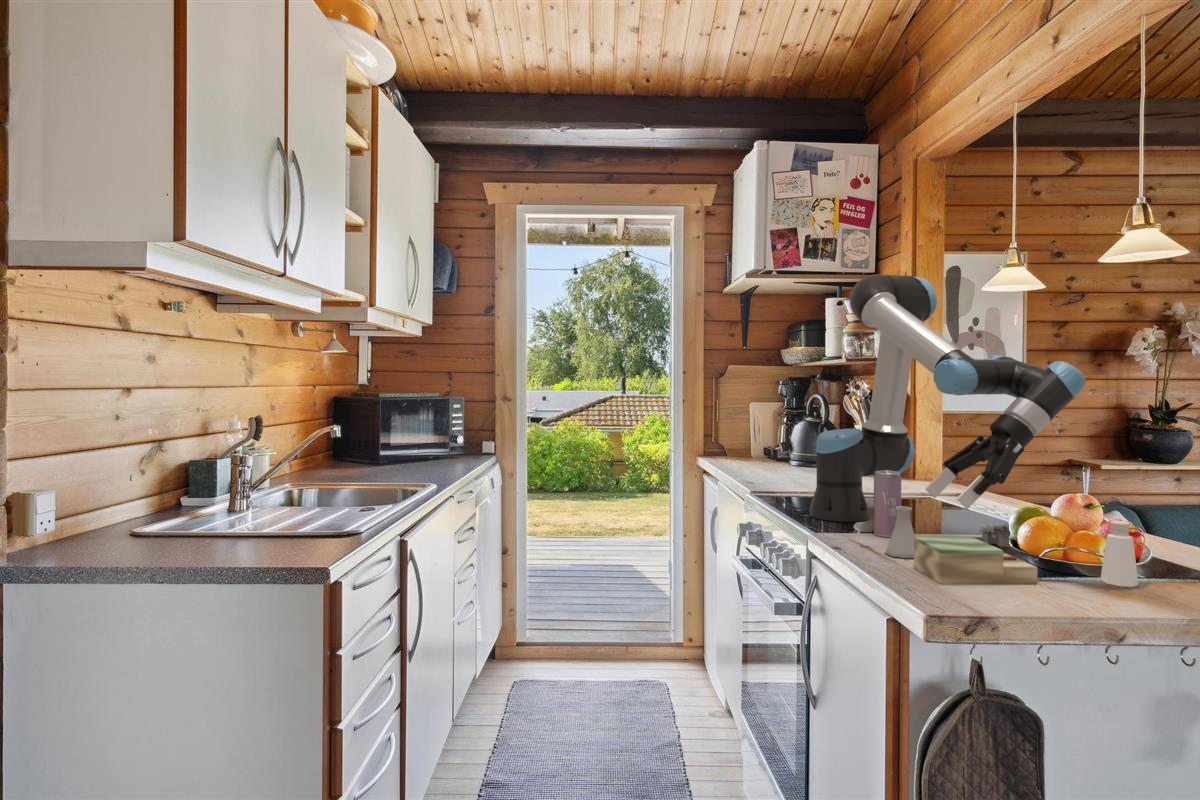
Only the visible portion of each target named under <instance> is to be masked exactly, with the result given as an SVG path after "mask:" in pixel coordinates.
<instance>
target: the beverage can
mask: <svg viewBox="0 0 1200 800" xmlns="http://www.w3.org/2000/svg"><path fill="white" fill-rule="evenodd" d="M901 474H902V473H900V472H897V471H875V475H874V476H873V533H874V534H875V536H877V537H880V538H887V539H889V538H890V539H891V536H892V533H893V531H894V528H895V524H896V519H897V510H896V509H895V508H896V507H897V506H902V475H901Z"/></svg>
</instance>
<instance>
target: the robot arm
mask: <svg viewBox="0 0 1200 800" xmlns="http://www.w3.org/2000/svg"><path fill="white" fill-rule="evenodd" d="M937 299H938V297H937V293H936V290H935V288H934V287H933V286H932V284H931V282H930V281H928V280H927V279H926V278H923V277H919V276H913V275H912V276H911V275H895V274H893V275H892V274H891V275H889V274H879V273H878V274H876V273H875V274H871V275H866V276H864V277H862V278H861V279H860V280H859V281H857V282H856V284H855V285H854V286H853V287H852V289H851V291H850V294H849V306H850V310H851V312H852V313H853V314H854V316H855V317H856V318H857V319H858V321H860V322H861V323H862V324H864V325H865V326H866V327H869V328H876V330H878V331H879V333H880V334H879V341H878V348H877V349H878V350H877V357H876V365H875V370H874V379H873V386H872V395H871V402H870V410H869V417H868V420H866V421H864V422H863V423H862V426H861V429H859V428H842V429H840V428H838V429H832V430H826V431H823V432H820V433H819V435H818V436H817V438H816V447H815V452H816V488H815V492H814V493H813V497H812V499H811V503H810V504H809V505H810V506H809V516H810V517H811V518H814V519H818V520H824V521H831V522H847V523H848V522H849V523H850V522H863V521H867V520H870V519H869V518H870V509H869V506H868V503H867V500H866V497H865V494H864V491H863V477H874V475H875V471H897V472H900V473H901V474H902V473H904V472H905V471H907V470H908V469H909V468H910V467H911V466H912V463H913V461H914V456H915V445H914V444H913V442H914V441H913V440H912V437H910V436H909V435H908V434H909V433H908V432H909V430H908V428H907V427H906V426H905V424H904V416H905V410H906V403H907V397H908V396H907V395H908V389H909V383H910V375H911V370H912V369H911V367H912V363H913V361H912V360H913V359H914V360H915V361H916V362H917V363H919V364H920V365H921V366H923V367H924V368H925V369H926V370H928V371H929V372H930V373H931V374H933V382H934V384H935V387H936V388H937V390H938V391H940V392H941V393H943V394H945V395H953V396H966V395H968V396H969V395H970V396H971V395H1007V396H1011V397H1014V398H1015V399H1014V400H1013V401H1012V402H1011V404H1010V405H1008V406H1007V407H1006V408H1005V409H1004V410H1003V413H1002V414H1000V415H999V416H998V417H997V418H996V419H995V420H994V421H992V423H991V424H990V425H989V430H990V432H991V434H990V435H989V436H988V437H987V438H984V436H982V435H979V436H978V437H976V438H975V439H974V440H973V441H972V442H971V443H969V444H968V445H966V446H965V447H963V448H962V449H961V450H959V451H958V452H957V453H955V454H953V455H952V456H950V457H949V458H948V459H946V460H945V461H943V466H944V467H945V468H944V469H943V470H942V471H941V472H939V474H938V475H937V476H936V477H934V479H933V480H932V481H931V482H930V483H928V485H927V486H926V487H925V488H924V490H925V491H926V492H928V493H929V495H930V496H931V497H932V498H934V499H936V498H937V497H938V496H939V495H940V494H941V493H942V492H944V490H945V489H946V488H947V487H948V486H949V485H950V484H951V483H952V482H953V481H954V480H955V479H956V478H958V477H959V475H958V474H959V473H961V472H963V471H965V470H966V469H969V468H970V467H972V466H974V465H976V464H978V463H980V462H981V463H984V462H986V461H987V462H986V465H985V468H984V471H982V472H980V475H978V476H977V477H976V478H975V479H974V480H973V481H972V482H971V483H970V484H969V485H968V486H967V487H966V488H965V489H964V490H963V491H962V492H961V493H960V494H959V495H958V496H957V497H956V498H955V500H956V501H957V502H958V503H959V504H961V506H963V507H964V509H967V510H968V509H969V508H970V507H971V506H972V505H974V504H975V502H976V501H977V500H978V499H980V497H981V496H983V494H984V493H986V491H987V490H989V489H990V487H991V486H995V485H996V484H997V483H998V484H999V485H1001V484H1004V483H1005V482H1006V480H1007V478H1008V476H1009V474H1010V473H1011V470H1012V469H1013V468H1014V465H1015V464H1016V461H1017V460H1018V458H1019V457H1020V456H1021V454H1022V453H1023V452H1024V451H1025V448H1026V446H1028V445H1029V444H1030V443H1031V442H1032V441H1033V439H1034V436H1037V435H1038V434H1039V433H1040V432H1041V431H1045V430H1046V428H1045V427H1046V426H1047V425H1049V423H1051V422H1052V420H1053V419H1054V418H1055V417H1056V416H1057V415H1058V414H1059V413H1060V412H1061V411H1062V410H1063V409H1065V408H1066V407H1067V406H1068V405H1069V404H1070V403H1071V402H1072V401H1074V400H1075V399H1076V396H1078V394H1079V393H1080V392H1081V391H1082V389H1083V388H1085V386H1086V377H1085V376H1084V374H1083V373H1082V372H1081V370H1080V369H1078V368H1077V367H1075V366H1074V365H1072V364H1070V363H1069V362H1066V361H1062V360H1059V361H1054V362H1052V363H1051V364H1050V365H1047V367H1046V368H1042V367H1040V366H1035V365H1033V364H1030V363H1026V362H1023V361H1020V360H1017V359H1016V358H1013V357H1010V356H1004V355H1001V354H1000V355H999V354H995V355H992V356H990V357H988V358H986V359H985V358H983V359H977V358H976V359H975V358H973V357H971V356H969V354H967V353H966V352H964V351H963V350H961V349H960V348H958V347H957V346H956V345H955V344H953V343H952V342H950V341H949V340H948V339H946V338H945V337H943V335H942V334H939V332H937V331H936V330H934V329H933V328H931V327H930V326H929V325H928V324H926V323H925V322H927V321H928V320H929V319H931V317H932V315H934V313H935V312H936V309H937V304H938V303H937V302H938V300H937Z"/></svg>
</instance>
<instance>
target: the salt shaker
mask: <svg viewBox="0 0 1200 800" xmlns="http://www.w3.org/2000/svg"><path fill="white" fill-rule="evenodd" d="M1109 522H1110V523H1109V524H1110V533H1108V534H1106V538H1105V545H1104V551H1103V557H1102V558H1103V559H1102V567H1101V573H1100V581H1101V582H1103V583H1104V584H1107V585H1111V586H1117V587H1124V588H1127V587H1128V588H1134V587H1137V586H1138V585H1139V578H1138V570H1137V569H1138V568H1137V561H1136V560H1137V559H1136V553H1135V551H1136V550H1135V544H1134V537H1133V536H1131V535H1129V534H1130V533H1129V532H1130V525H1131V524H1130V523H1129V522H1128V521H1126V520H1125V521H1124V520H1116V519H1115V520H1111V521H1109Z"/></svg>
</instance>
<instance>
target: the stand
mask: <svg viewBox="0 0 1200 800" xmlns="http://www.w3.org/2000/svg"><path fill="white" fill-rule="evenodd" d="M913 568H914V569H916V570H917V571H919V572H921V573H923V574H925V576H927V577H929V578H930V579H932V580H934V581H935V582H937V583H939V584H941V585H942V584H943V585H944V584H945V585H949V584H950V585H953V584H954V585H957V584H958V585H1038V566H1035V565H1033V564H1031V563H1028V562H1026V561H1024V560H1021V559H1020V558H1017V557H1016V556H1013V555H1010V554H1008V553H1006V552H1004V550H1003V549H1001V548H999V547H997V546H994V545H991V544H987V543H985V542H983V541H982V540H980V539H978V538H975V537H973V536H915V537H914V558H913Z"/></svg>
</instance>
